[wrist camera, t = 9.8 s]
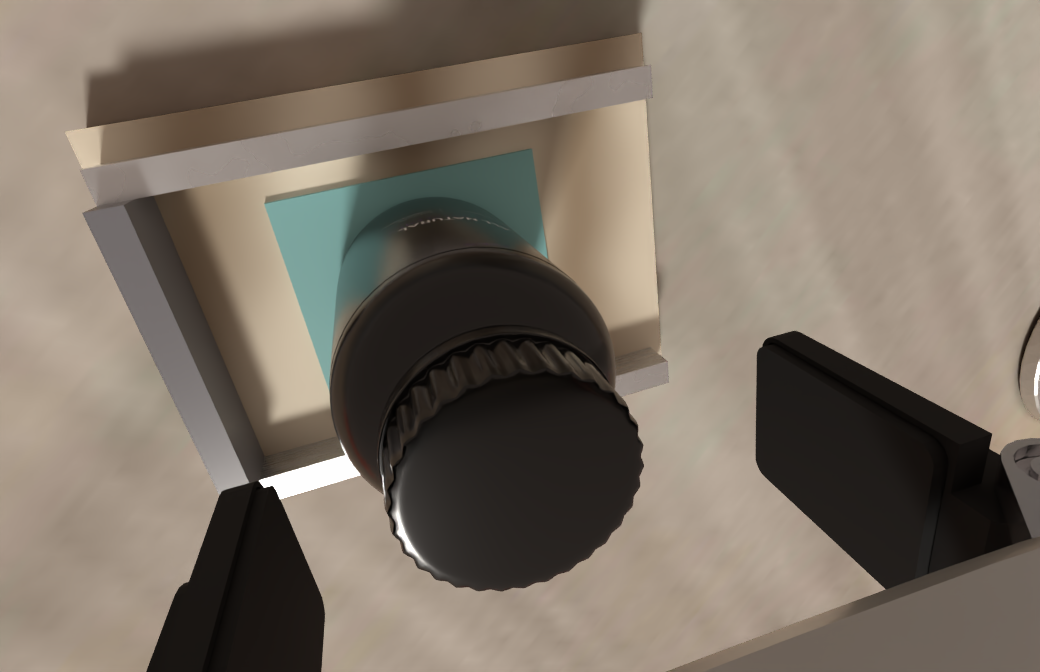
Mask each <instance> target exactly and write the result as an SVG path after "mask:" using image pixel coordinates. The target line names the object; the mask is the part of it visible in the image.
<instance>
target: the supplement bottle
mask: <svg viewBox="0 0 1040 672" xmlns="http://www.w3.org/2000/svg"><path fill="white" fill-rule="evenodd" d="M615 384H616V363H615V354H614V349H613V344H612V340H611V337H610V334H609V331H608V328H607V326H606V324H605V322H604V319H603V317H602V315H601V314H600V312H599V310H598V309H597V307H596V306H595V304H594V303H593V302H592V300H591V299H590V298H589V296H588V295H587V294H586V293H585V292H584V291H583V290H582V289H581V288H580V287H579V286H578V285H577V283H576V282H575V281H574V280H572V279H571V278H570V277H569V276H568V275H567V274H565V273H564V272H563V271H562V270H561V269H559V268H558V267H557V266H556V265H555V264H553V263H552V262H551V261H550V260H548V259H547V258H546V257H545V256H544V255H542V254H541V253H540V252H539V251H538V250H536V249H535V248H534V247H533V246H532V245H530V244H529V243H528V242H527V241H525V240H524V239H523V238H522V237H521V236H519V235H518V234H517V233H516V232H515V231H513V230H512V229H511V228H510V227H509V226H507V225H506V224H505V223H504V222H502V221H501V220H500V219H498V218H497V217H496V216H494V215H493V214H491V213H490V212H488V211H486V210H485V209H483V208H481V207H479V206H477V205H474V204H472V203H469V202H466V201H463V200H459V199H454V198H447V197H425V198H418V199H413V200H409V201H406V202H403V203H400V204H398V205H396V206H393V207H391V208H389V209H387V210H386V211H384V212H382V213H381V214H379V215H378V216H377V217H375V218H374V219H373V220H371V221H370V222H369V223H368V224H367V225H366V226H365V227H364V228H363V229H362V230H361V231H360V232H359V234H358V235H357V236H356V238H355V239H354V241H353V242H352V244H351V245H350V247H349V249H348V251H347V253H346V255H345V257H344V260H343V263H342V266H341V269H340V274H339V278H338V285H337V293H336V305H335V317H334V329H333V341H332V354H331V366H330V381H329V394H330V407H331V416H332V420H333V425H334V429H335V432H336V434H337V437H338V440H339V442H340V444H341V446H342V448H343V450H344V452H345V454H346V456H347V457H348V459H349V460H350V462H351V463H352V465H353V466H354V467H355V469H356V470H357V471H358V472H359V473H360V475H361V476H362V477H363V478H364V479H365V480H366V481H367V482H368V483H369V484H370V485H372V486H373V487H374V488H375V489H377V490H378V491H379V492H381V493H382V494H383V495H384V505H385V510H386V512H387V514H388V516H389V520H390V528H391V532H392V534H393V535H394V536H395V537H396V538H397V539H398V540H400V544H401V549H402V551H403V553H404V554H406V555H407V556H409V557H411V558H413V559H414V561H415V564H416V566H417V568H419V569H421V570H424V571H427V572H430V573H431V575H432V576H433V577H434V578H435V579H436V580H440V581H448V582H449V583H451V584H452V585H453V586H455V587H456V588H463V587H470V588H472V589H474V590H476V591H484V590H489V589H492V590H496V591H505V590H508V589H511V588H526V587H528V586H530V585H532V584H534V583H537V582H546V581H549V580H550V579H552V578H553V577H554V576H556V575H557V574H561V573H565V572H568V571H570V570H571V569H572V568H573V567H574V566H575V565H576V564H577V563H579V562H581V561H584V560H586V559H588V558H589V557H590V556H591V555H592V553H593V552H594V551H595V549H597V548H599V547H600V546H602V545H603V544H605V543H606V542H607V540H608V539H609V537H610V535H611V533H612V532H613V531H615V530H616V529H617V528H618V527H620V526H621V524H622V521H623V518H624V515H625V514H626V513H627V512H628V511H629V510H630V509H631V507H632V506H633V498H634V495H635V493H636V492H637V491H638V489H639V488H640V478H639V476H640V474H641V472H642V469H643V467H644V464H643V461H642V459H641V453H642V449H643V443H642V441H641V439H640V438H639V436H638V424H637V422H636V420H635V419H634V418H633V416H632V415H631V414H630V413H629V409H628V406H627V404H626V402H625V401H624V400H623V398H622V397H621V396H620V395H619V394H618V393H617V392H616V391H615Z"/></svg>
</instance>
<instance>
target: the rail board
mask: <svg viewBox="0 0 1040 672" xmlns="http://www.w3.org/2000/svg"><path fill="white" fill-rule="evenodd" d="M649 98H653V91H652V74H651V65H645V66H644V64H643V48H642V33H637V34H631V35H625V36H620V37H614V38H608V39H602V40H596V41H591V42H585V43H579V44H573V45H567V46H561V47H556V48H550V49H544V50H538V51H532V52H526V53H521V54H515V55H509V56H503V57H497V58H492V59H486V60H480V61H474V62H468V63H462V64H457V65H451V66H445V67H439V68H433V69H428V70H422V71H416V72H410V73H404V74H398V75H393V76H387V77H381V78H375V79H369V80H364V81H358V82H352V83H346V84H340V85H334V86H329V87H323V88H317V89H311V90H305V91H300V92H294V93H288V94H282V95H276V96H270V97H265V98H259V99H253V100H247V101H241V102H236V103H230V104H224V105H218V106H212V107H206V108H201V109H195V110H189V111H183V112H177V113H172V114H166V115H160V116H154V117H148V118H142V119H137V120H131V121H125V122H119V123H113V124H108V125H102V126H96V127H90V128H84V129H78V130H73V131H67V132H65V133H66V135H67V137H68V139H69V141H70V144H71V146H72V148H73V150H74V152H75V154H76V156H77V158H78V161H79V163H80V165H81V167H82V169H81V170H80V172H81V174H82V176H83V178H84V180H85V182H86V185H87V187H88V189H89V191H90V193H91V195H92V197H93V199H94V202H95V204H96V206H97V207H95V208H93V209H91V210H88V211H86V212H84V213H83V215H84V217H85V220H86V222H87V224H88V226H89V228H90V230H91V232H92V234H93V236H94V238H95V240H96V242H97V244H98V246H99V248H100V250H101V253H102V255H103V257H104V259H105V261H106V263H107V265H108V267H109V269H110V271H111V273H112V275H113V277H114V279H115V281H116V283H117V285H118V288H119V290H120V292H121V294H122V296H123V298H124V300H125V302H126V304H127V306H128V308H129V310H130V312H131V314H132V316H133V318H134V321H135V323H136V325H137V327H138V329H139V331H140V333H141V335H142V337H143V339H144V341H145V343H146V345H147V347H148V349H149V351H150V353H151V356H152V358H153V360H154V362H155V364H156V366H157V368H158V370H159V372H160V374H161V376H162V378H163V380H164V382H165V384H166V386H167V388H168V391H169V393H170V395H171V397H172V399H173V401H174V403H175V405H176V407H177V409H178V411H179V413H180V415H181V417H182V419H183V421H184V424H185V426H186V428H187V430H188V432H189V434H190V436H191V438H192V440H193V442H194V444H195V446H196V448H197V450H198V452H199V454H200V456H201V459H202V461H203V463H204V465H205V467H206V469H207V471H208V473H209V475H210V477H211V479H212V481H213V483H214V485H215V487H216V489H217V492H218V494H219V496H220V494H221V492H222V491H223V490H226V489H229V488H233V487H236V486H240V485H244V484H247V483H251V482H254V481H259V482H260V483H261V484H262V485H263V487H268V486H273V487H274V488H275V489H276V491H277V493H278V495H279V498H280V499H282V498H285V497H288V496H292V495H295V494H298V493H302V492H305V491H308V490H312V489H315V488H318V487H322V486H325V485H328V484H332V483H335V482H338V481H342V480H345V479H348V478H352V477H355V476H358V475H360V473H359V472H358V471H357V470H356V469H355V467H354V466H353V465H352V463H351V462H350V460H349V459H348V457H347V456H346V454H345V452H344V450H343V448H342V446H341V444H340V442H339V440H338V437H337V434H336V432H335V429H334V425H333V420H332V416H331V407H330V394H329V381H330V366H331V354H332V341H333V329H334V317H335V305H336V293H337V285H338V278H339V274H340V269H341V266H342V263H343V260H344V257H345V255H346V253H347V251H348V249H349V247H350V245H351V244H352V242H353V241H354V239H355V238H356V236H357V235H358V234H359V232H360V231H361V230H362V229H363V228H364V227H365V226H366V225H367V224H368V223H369V222H370V221H371V220H373V219H374V218H375V217H377V216H378V215H379V214H381V213H382V212H384V211H386V210H387V209H389V208H391V207H393V206H396V205H398V204H400V203H403V202H406V201H409V200H413V199H418V198H425V197H447V198H454V199H459V200H463V201H466V202H469V203H472V204H474V205H477V206H479V207H481V208H483V209H485V210H486V211H488V212H490V213H491V214H493V215H494V216H496V217H497V218H498V219H500V220H501V221H502V222H504V223H505V224H506V225H507V226H509V227H510V228H511V229H512V230H513V231H515V232H516V233H517V234H518V235H519V236H521V237H522V238H523V239H524V240H525V241H527V242H528V243H529V244H530V245H532V246H533V247H534V248H535V249H536V250H538V251H539V252H540V253H541V254H542V255H544V256H545V257H546V258H547V259H548V260H550V261H551V262H552V263H553V264H555V265H556V266H557V267H558V268H559V269H561V270H562V271H563V272H564V273H565V274H567V275H568V276H569V277H570V278H571V279H572V280H574V281H575V282H576V283H577V285H578V286H579V287H580V288H581V289H582V290H583V291H584V292H585V293H586V294H587V295H588V296H589V298H590V299H591V300H592V302H593V303H594V304H595V306H596V307H597V309H598V310H599V312H600V314H601V315H602V317H603V319H604V322H605V324H606V326H607V328H608V331H609V334H610V337H611V340H612V344H613V349H614V354H615V363H616V384H615V391H616V392H617V393H618V394H619V395H620V396H621V397H622V396H625V395H629V394H632V393H635V392H639V391H642V390H645V389H649V388H652V387H655V386H659V385H662V384H665V383H669V376H668V361H667V360H666V359H664V358H663V357H662V356H661V341H660V325H659V309H658V293H657V276H656V260H655V244H654V227H653V211H652V195H651V178H650V162H649V146H648V129H647V113H646V99H649Z"/></svg>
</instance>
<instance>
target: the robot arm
mask: <svg viewBox="0 0 1040 672" xmlns="http://www.w3.org/2000/svg"><path fill="white" fill-rule="evenodd" d="M1019 381H1020V393H1021V397H1022V400H1023V403H1024V406H1025V408H1026V409H1027V411H1028V412H1029V413H1030V415H1031V416H1032V417H1034V418H1036V419H1037V420H1039V421H1040V318H1039V320H1038V322H1037V323H1036V325H1035V327H1034V329H1033V331H1032V334H1031V336H1030V339H1029V341H1028V343H1027V346H1026V349H1025V352H1024V356H1023V360H1022V363H1021V371H1020V379H1019ZM991 437H992V433H990V432H988V431H986V430H984V429H982V428H980V427H978V426H976V425H974V424H973V423H971V422H969V421H967V420H965V419H963V418H961V417H959V416H957V415H956V414H954V413H952V412H950V411H948V410H946V409H944V408H942V407H940V406H938V405H937V404H935V403H933V402H931V401H929V400H927V399H925V398H923V397H921V396H920V395H918V394H916V393H914V392H912V391H910V390H908V389H906V388H904V387H902V386H901V385H899V384H897V383H895V382H893V381H891V380H889V379H887V378H885V377H884V376H882V375H880V374H878V373H876V372H874V371H872V370H870V369H868V368H866V367H865V366H863V365H861V364H859V363H857V362H855V361H853V360H851V359H849V358H848V357H846V356H844V355H842V354H840V353H838V352H836V351H834V350H832V349H830V348H829V347H827V346H825V345H823V344H821V343H819V342H817V341H815V340H813V339H812V338H810V337H808V336H806V335H804V334H802V333H800V332H797V331H791V332H788V333H784V334H781V335H777V336H773V337H770V338H767V339H766V340H765V341H764V343H763V347H761V348H760V349H759V350H758V352H757V389H756V462H757V465H758V468H759V470H760V471H761V473H762V474H763V475H764V476H765V477H766V478H767V479H768V480H769V481H770V482H771V483H772V484H773V485H774V486H775V487H776V488H778V489H779V490H780V491H781V492H782V493H783V494H784V495H785V496H786V497H787V498H788V499H789V500H790V501H791V502H793V503H794V504H795V505H796V506H797V507H798V508H799V509H800V510H801V511H802V512H803V513H804V514H805V515H807V516H808V517H809V518H810V519H811V520H812V521H813V522H814V523H815V524H816V525H817V526H818V527H819V528H821V529H822V530H823V531H824V532H825V533H826V534H827V535H828V536H829V537H830V538H831V539H832V540H833V541H835V542H836V543H837V544H838V545H839V546H840V547H841V548H842V549H843V550H844V551H845V552H846V553H847V554H849V555H850V556H851V557H852V558H853V559H854V560H855V561H856V562H857V563H858V564H859V565H860V566H861V567H863V568H864V569H865V570H866V571H867V572H868V573H869V574H870V575H871V576H872V577H873V578H874V579H875V580H876V581H878V582H879V583H880V584H881V585H882V586H883V587H884V588H885V589H886V590H884V591H881V592H878V593H876V594H873V595H870V596H868V597H865V598H862V599H859V600H857V601H854V602H851V603H849V604H846V605H843V606H840V607H838V608H835V609H832V610H830V611H827V612H824V613H821V614H819V615H816V616H813V617H811V618H808V619H805V620H802V621H800V622H797V623H794V624H792V625H789V626H786V627H784V628H781V629H778V630H776V631H773V632H770V633H768V634H765V635H762V636H760V637H757V638H754V639H752V640H749V641H746V642H744V643H741V644H738V645H736V646H733V647H730V648H728V649H725V650H722V651H720V652H717V653H714V654H712V655H709V656H706V657H704V658H701V659H698V660H696V661H693V662H690V663H688V664H685V665H683V666H680V667H677V668H675V669H672V670H669V671H667V672H1040V438H1029V439H1022V440H1016V441H1014V442H1012V443H1009V444H1007V445H1006V446H1005V447H1004V448H1003V450H1002V451H1001V453H1000V455H999V454H997V453H995V452H993V451H992V450H990V449H989V446H990V442H991ZM324 622H325V612H324V604H323V600H322V597H321V594H320V592H319V589H318V587H317V585H316V582H315V580H314V578H313V575H312V573H311V570H310V568H309V566H308V563H307V561H306V559H305V556H304V554H303V552H302V549H301V547H300V545H299V542H298V540H297V538H296V535H295V533H294V531H293V528H292V526H291V523H290V521H289V519H288V516H287V514H286V512H285V509H284V507H283V505H282V502H281V500H280V498H279V495H278V493H277V491H276V489H275V488H274V487H273V486H268V487H263V485H262V484H261V483H260V482H259V481H254V482H251V483H247V484H244V485H240V486H236V487H233V488H229V489H226V490H223V491H222V492H221V494H220V496H219V498H218V501H217V504H216V507H215V510H214V513H213V515H212V518H211V521H210V524H209V527H208V530H207V532H206V535H205V538H204V541H203V544H202V547H201V549H200V552H199V555H198V558H197V561H196V564H195V566H194V569H193V572H192V575H191V578H190V581H189V582H187V583H184V584H183V585H182V586H181V587H179V589H178V591H177V592H176V594H175V596H174V599H173V602H172V604H171V607H170V610H169V612H168V615H167V618H166V620H165V623H164V626H163V628H162V631H161V634H160V636H159V639H158V642H157V645H156V647H155V650H154V653H153V655H152V658H151V661H150V663H149V666H148V669H147V671H146V672H321V667H322V652H323V637H324Z"/></svg>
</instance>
